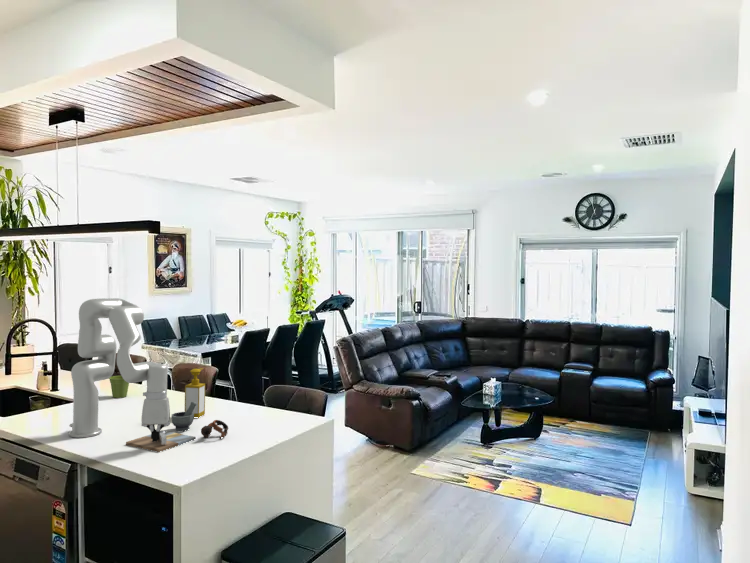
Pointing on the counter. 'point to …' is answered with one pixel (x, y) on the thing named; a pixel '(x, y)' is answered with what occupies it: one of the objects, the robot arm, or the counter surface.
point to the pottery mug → (208, 429)
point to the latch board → (171, 441)
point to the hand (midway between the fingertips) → (155, 440)
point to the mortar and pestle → (183, 418)
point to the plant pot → (119, 386)
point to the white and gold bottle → (195, 394)
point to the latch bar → (162, 437)
